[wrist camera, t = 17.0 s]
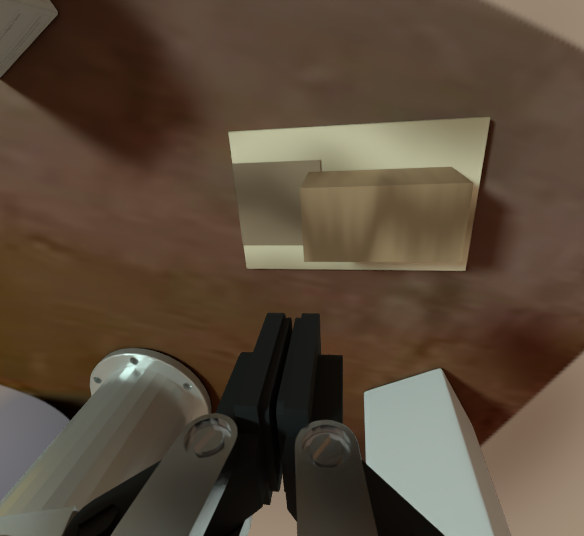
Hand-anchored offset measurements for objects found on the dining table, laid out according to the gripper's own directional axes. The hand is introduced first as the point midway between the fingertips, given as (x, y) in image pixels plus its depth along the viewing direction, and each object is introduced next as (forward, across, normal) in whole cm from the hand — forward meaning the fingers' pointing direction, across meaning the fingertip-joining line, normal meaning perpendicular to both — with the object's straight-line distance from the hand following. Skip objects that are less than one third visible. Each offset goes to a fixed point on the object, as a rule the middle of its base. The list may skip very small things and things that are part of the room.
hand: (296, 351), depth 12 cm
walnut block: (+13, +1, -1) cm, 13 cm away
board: (+15, -2, -1) cm, 16 cm away
